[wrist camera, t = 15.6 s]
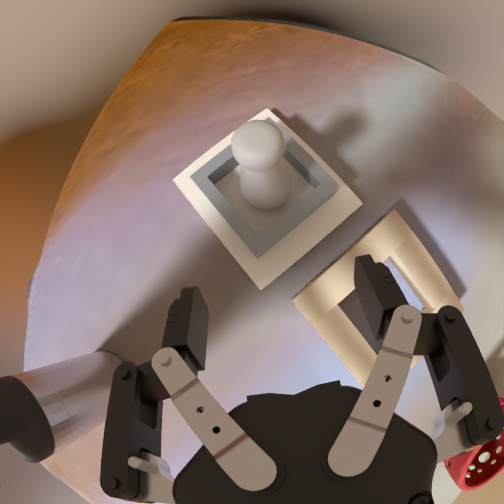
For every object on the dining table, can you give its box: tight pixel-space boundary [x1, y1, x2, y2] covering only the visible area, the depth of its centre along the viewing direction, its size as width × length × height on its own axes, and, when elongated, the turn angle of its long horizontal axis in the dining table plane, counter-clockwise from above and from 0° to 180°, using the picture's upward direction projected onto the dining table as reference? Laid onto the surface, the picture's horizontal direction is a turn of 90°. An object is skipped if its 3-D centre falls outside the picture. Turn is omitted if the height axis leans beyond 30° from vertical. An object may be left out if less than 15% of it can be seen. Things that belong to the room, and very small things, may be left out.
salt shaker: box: [231, 120, 292, 210], centre depth 26 cm, size 6×6×13 cm
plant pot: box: [444, 397, 504, 491], centre depth 20 cm, size 13×13×12 cm
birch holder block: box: [291, 209, 464, 388], centre depth 29 cm, size 16×16×3 cm
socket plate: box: [173, 109, 363, 290], centre depth 32 cm, size 16×18×4 cm
